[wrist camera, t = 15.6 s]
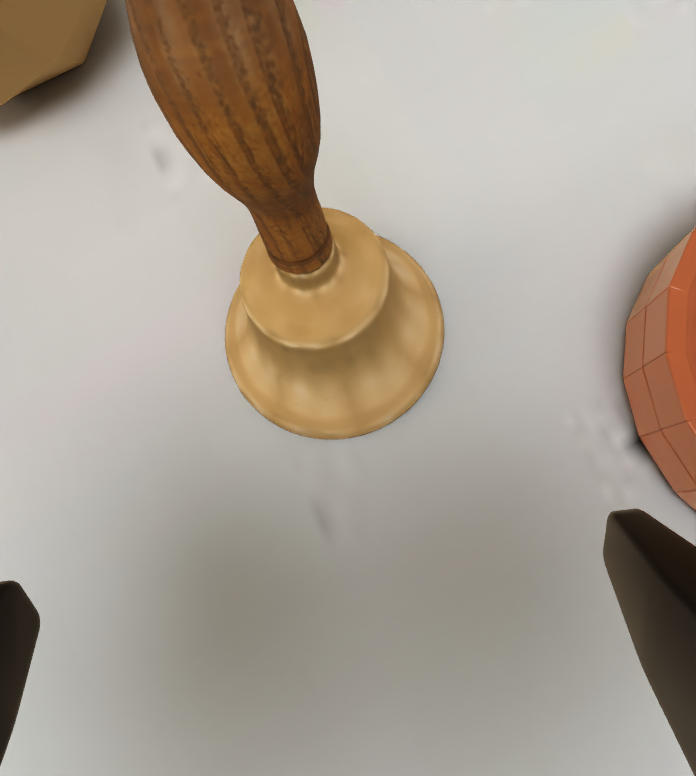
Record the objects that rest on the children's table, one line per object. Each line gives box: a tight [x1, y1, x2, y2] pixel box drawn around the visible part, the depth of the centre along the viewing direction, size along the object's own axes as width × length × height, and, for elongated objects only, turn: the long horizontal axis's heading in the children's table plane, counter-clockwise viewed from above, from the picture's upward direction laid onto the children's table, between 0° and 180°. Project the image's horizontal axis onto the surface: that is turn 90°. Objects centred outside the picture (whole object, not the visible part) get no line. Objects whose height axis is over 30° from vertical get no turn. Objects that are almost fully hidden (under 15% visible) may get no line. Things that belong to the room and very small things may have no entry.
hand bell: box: [125, 0, 444, 439], centre depth 14 cm, size 8×8×16 cm
